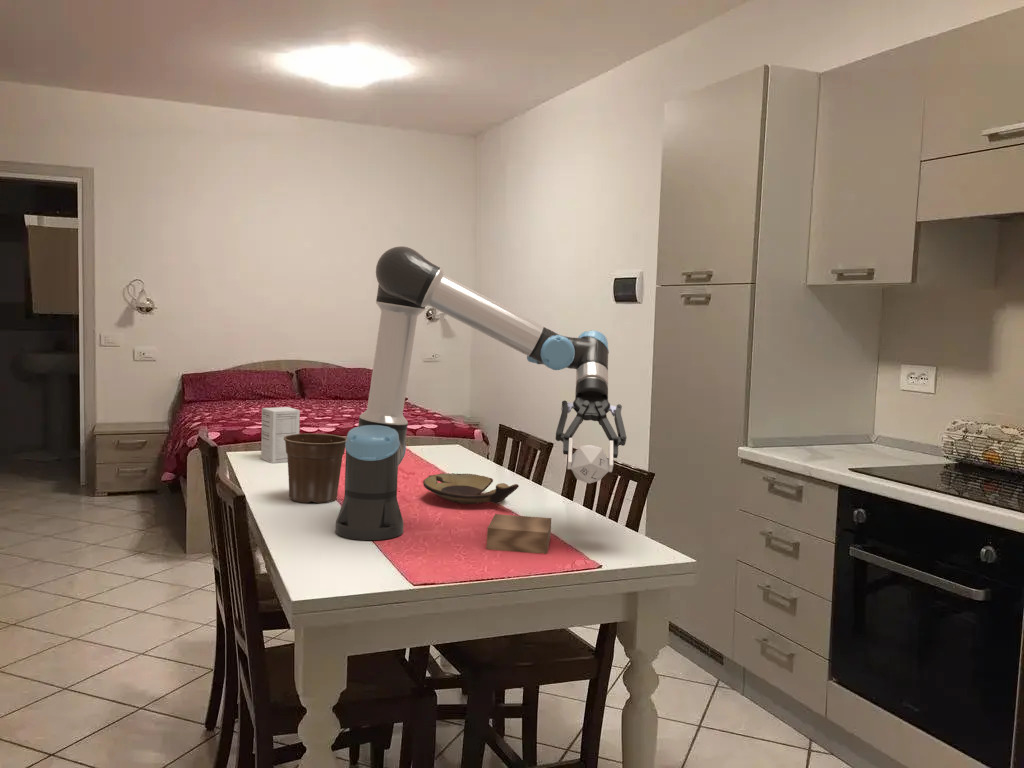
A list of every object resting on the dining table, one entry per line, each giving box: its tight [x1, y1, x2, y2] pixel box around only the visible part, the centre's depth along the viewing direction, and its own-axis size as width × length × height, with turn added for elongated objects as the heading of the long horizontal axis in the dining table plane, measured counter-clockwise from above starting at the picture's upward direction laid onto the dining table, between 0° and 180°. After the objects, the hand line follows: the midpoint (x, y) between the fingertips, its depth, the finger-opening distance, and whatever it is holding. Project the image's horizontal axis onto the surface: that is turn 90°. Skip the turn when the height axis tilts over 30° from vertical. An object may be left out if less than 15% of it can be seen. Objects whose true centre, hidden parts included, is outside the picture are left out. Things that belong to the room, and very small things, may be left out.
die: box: [570, 444, 609, 484], centre depth 180 cm, size 8×9×10 cm
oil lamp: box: [422, 472, 520, 505], centre depth 219 cm, size 22×30×8 cm
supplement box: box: [260, 406, 301, 464], centre depth 266 cm, size 10×9×17 cm
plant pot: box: [284, 432, 347, 504], centre depth 214 cm, size 16×16×16 cm
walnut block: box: [485, 513, 552, 555], centre depth 182 cm, size 13×13×5 cm
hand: (590, 467), depth 177 cm, fingers closed on die, 8 cm apart
